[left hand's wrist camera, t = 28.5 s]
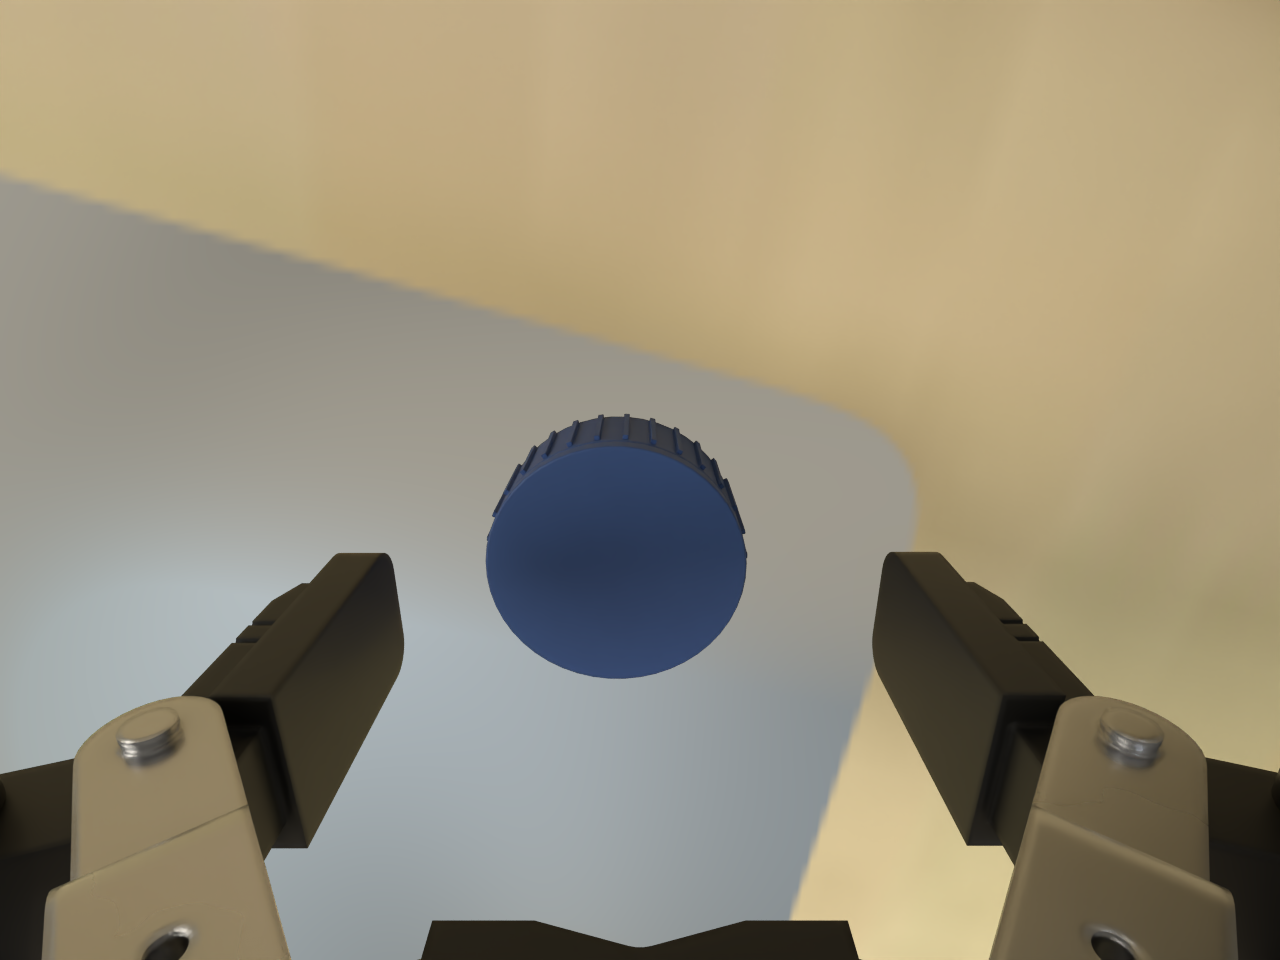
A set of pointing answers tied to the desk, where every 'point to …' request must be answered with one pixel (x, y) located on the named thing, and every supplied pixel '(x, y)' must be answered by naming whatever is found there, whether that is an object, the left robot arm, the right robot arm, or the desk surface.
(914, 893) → the desk surface
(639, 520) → the lid
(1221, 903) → the left robot arm
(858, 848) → the desk surface
